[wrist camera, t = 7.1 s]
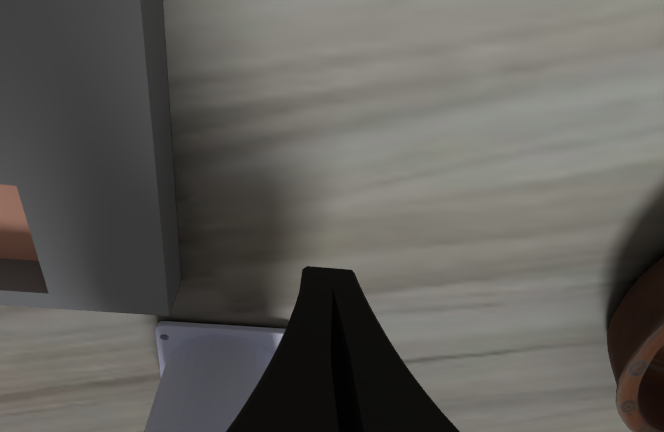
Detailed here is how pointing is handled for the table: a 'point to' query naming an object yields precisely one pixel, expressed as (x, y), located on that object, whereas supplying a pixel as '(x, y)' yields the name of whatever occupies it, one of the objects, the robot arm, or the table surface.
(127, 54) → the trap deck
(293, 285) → the table surface
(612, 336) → the dish
